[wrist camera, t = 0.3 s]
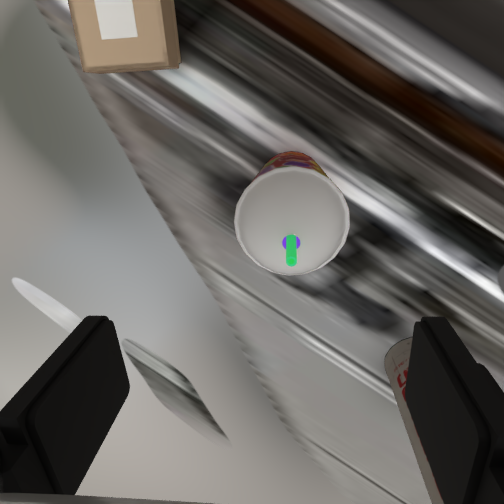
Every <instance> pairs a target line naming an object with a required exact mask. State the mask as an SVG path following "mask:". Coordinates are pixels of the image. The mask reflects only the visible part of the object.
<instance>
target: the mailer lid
mask: <svg viewBox="0 0 504 504" xmlns="http://www.w3.org/2000/svg"><path fill="white" fill-rule="evenodd" d="M68 4H69V8H70V13H71V18H72V22H73V27H74V31H75V36H76V41H77V45H78V50H79V54H80V59H81V64H82V68H83V72H88V73H98V74H104V73H119V72H134V71H148V70H163V69H178V68H179V63H178V55H177V46H176V38H175V30H174V21H173V13H172V5H171V0H68Z"/></svg>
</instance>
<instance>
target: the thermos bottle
mask: <svg viewBox="0 0 504 504" xmlns="http://www.w3.org/2000/svg"><path fill="white" fill-rule="evenodd" d="M412 338H413V337H412ZM412 338H408V339H405V340H402V341H400V342H398V343H397V344H396V345H394V346H393V347H392V348H391V349H390V350H389V352H388V353H387V355H386V358H385V369H386V372H387V375H388V378H389V381H390V384H391V387H392V390H393V393H394V395H395V398H396V401H397V404H398V407H399V410H400V413H401V416H402V419H403V421H404V424H405V427H406V430H407V433H408V436H409V439H410V442H411V445H412V448H413V450H414V453H415V456H416V459H417V462H418V465H419V468H420V471H421V474H422V476H423V479H424V482H425V485H426V488H427V491H428V494H429V496H430V499H431V502H432V504H444V503H443V500H442V497H441V495H440V492H439V489H438V487H437V484H436V481H435V479H434V476H433V473H432V471H431V468H430V465H429V463H428V460H427V457H426V455H425V452H424V449H423V447H422V444H421V441H420V438H419V436H418V433H417V430H416V428H415V425H414V422H413V420H412V417H411V414H410V412H409V409H408V406H407V404H406V399H405V386H406V379H407V372H408V366H409V359H410V352H411V345H412Z"/></svg>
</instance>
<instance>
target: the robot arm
mask: <svg viewBox="0 0 504 504" xmlns="http://www.w3.org/2000/svg"><path fill="white" fill-rule="evenodd" d="M129 389H130V384H129V379H128V376H127V372H126V368H125V364H124V360H123V357H122V353H121V350H120V345H119V341H118V338H117V334H116V330H115V326H114V323H113V321H111V320H109V319H108V317H107V316H87V317H86V318H84V319H83V321H82V322H81V323H80V324H79V325H78V326H77V327H76V328H75V329H74V330H73V332H72V333H71V334H70V335H69V336H68V337H67V338H66V339H65V340H64V342H63V343H62V344H61V345H60V346H59V347H58V348H57V349H56V350H55V352H54V353H53V354H52V355H51V356H50V357H49V358H48V359H47V360H46V361H45V363H44V364H43V365H42V366H41V367H40V368H39V369H38V370H37V371H36V372H35V373H34V375H33V376H32V377H31V378H30V379H29V380H28V381H27V382H26V383H25V384H24V386H23V387H22V388H21V389H20V390H19V391H18V392H17V393H16V394H15V395H14V397H13V398H12V399H11V400H10V401H9V402H8V403H7V404H6V405H5V407H4V408H3V409H2V410H1V411H0V504H213V503H197V502H181V501H165V500H164V501H163V500H148V499H131V498H113V497H96V496H79V495H75V493H76V492H77V490H78V488H79V486H80V484H81V482H82V480H83V479H84V477H85V475H86V473H87V471H88V469H89V467H90V465H91V464H92V462H93V460H94V458H95V456H96V454H97V452H98V450H99V449H100V447H101V445H102V443H103V441H104V439H105V437H106V435H107V434H108V432H109V430H110V428H111V426H112V424H113V422H114V420H115V418H116V417H117V415H118V413H119V411H120V409H121V407H122V405H123V404H124V402H125V400H126V398H127V396H128V393H129ZM405 399H406V404H407V406H408V409H409V412H410V414H411V417H412V420H413V422H414V425H415V428H416V430H417V433H418V436H419V438H420V441H421V444H422V447H423V449H424V452H425V455H426V457H427V460H428V463H429V465H430V468H431V471H432V473H433V476H434V479H435V481H436V484H437V487H438V489H439V492H440V495H441V497H442V500H443V503H444V504H504V392H503V391H502V389H501V388H500V387H499V385H498V384H497V382H496V381H495V380H494V378H493V377H492V375H491V374H490V373H489V371H488V370H487V369H486V368H485V366H484V365H482V364H480V363H477V362H476V361H475V360H474V358H473V357H472V355H471V354H470V352H469V351H468V349H467V348H466V346H465V345H464V344H463V342H462V341H461V339H460V338H459V336H458V335H457V333H456V332H455V331H454V329H453V328H452V326H451V325H450V323H449V322H448V320H447V319H446V318H445V317H422V319H421V322H416V323H415V325H414V331H413V338H412V345H411V352H410V359H409V366H408V372H407V379H406V386H405Z"/></svg>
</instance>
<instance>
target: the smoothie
mask: <svg viewBox="0 0 504 504" xmlns="http://www.w3.org/2000/svg"><path fill="white" fill-rule="evenodd" d="M234 225H235V231H236V237H237V240H238V242H239V243H240V245H241V247H242V249H243V251H244V253H245V254H246V255H247V256H248V257H249V258H250V259H251V260H252V261H253V262H255V263H256V264H257V265H259V266H260V267H262V268H264V269H266V270H268V271H270V272H273V273H278V274H283V275H299V274H306V273H309V272H312V271H314V270H317V269H320V268H322V267H323V266H324V265H326V264H327V263H328V262H329V261H331V260H332V259H333V258H335V256H336V255H337V254H338V252H339V251H340V249H341V248H342V247H343V245H344V244H345V241H346V238H347V234H348V231H349V228H350V219H349V208H348V205H347V203H346V200H345V198H344V196H343V193H342V192H341V191H340V189H339V188H338V187H337V186H336V185H335V184H334V183H333V182H332V180H331V179H329V177H328V176H327V175H326V174H325V173H324V171H323V170H322V169H321V168H320V167H319V165H318V164H317V163H316V162H315V161H314V160H313V159H312V158H311V157H309V156H307V155H305V154H303V153H299V152H293V151H290V152H284V153H280V154H278V155H276V156H274V157H273V158H271V159H270V160H269V161H268V162H267V163H266V164H265V165H264V167H263V168H262V169H261V170H260V172H259V173H258V174H257V176H256V177H255V178H254V180H253V181H252V182H251V184H250V185H249V186H248V187H247V188H246V189H245V190H244V192H243V194H242V196H241V197H240V199H239V201H238V203H237V205H236V212H235V218H234Z"/></svg>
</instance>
